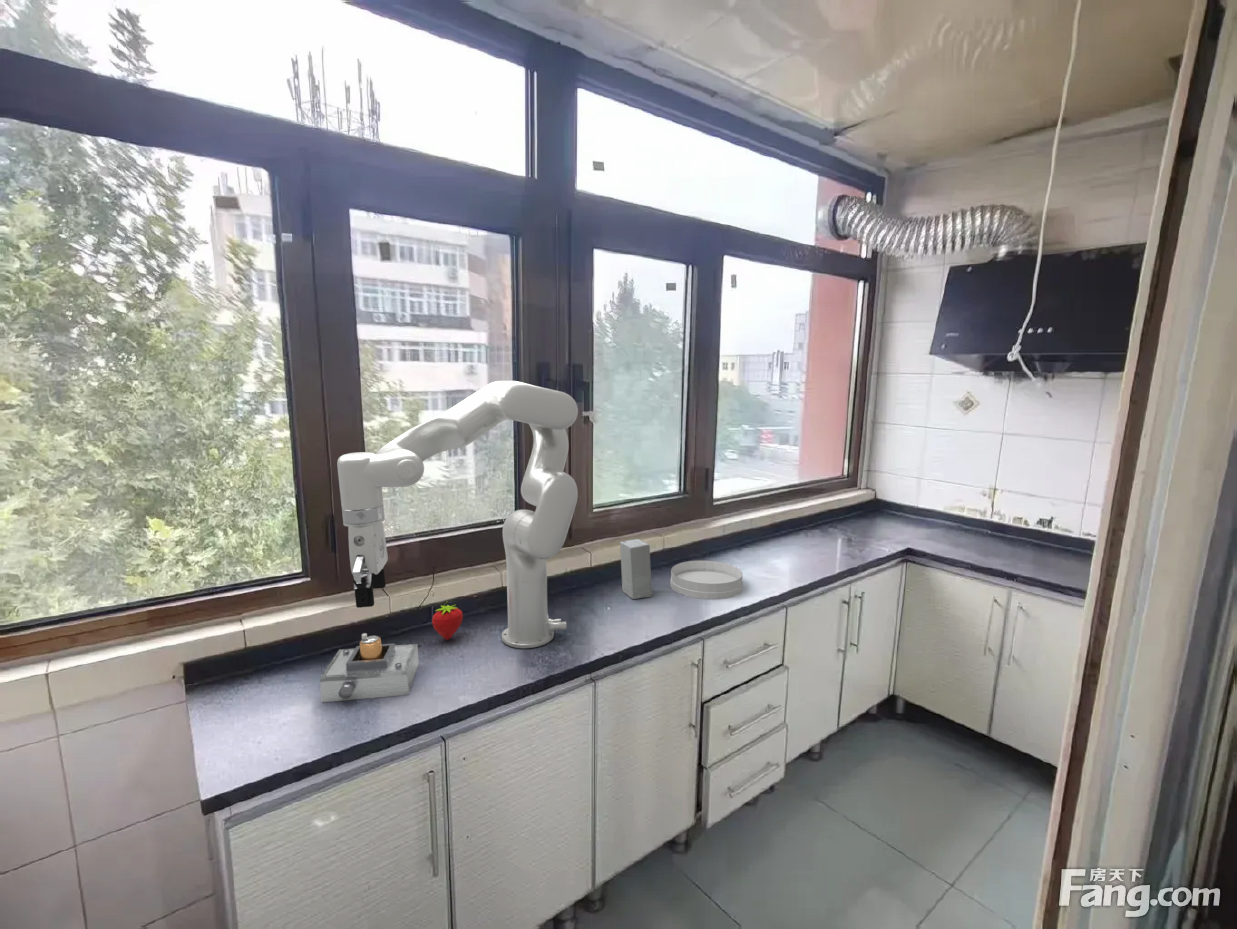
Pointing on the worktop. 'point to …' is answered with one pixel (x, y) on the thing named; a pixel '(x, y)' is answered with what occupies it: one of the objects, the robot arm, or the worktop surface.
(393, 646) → the plate
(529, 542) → the robot arm
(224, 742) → the worktop surface
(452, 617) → the strawberry
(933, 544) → the worktop surface
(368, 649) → the spout can
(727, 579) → the dish
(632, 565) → the skincare box
